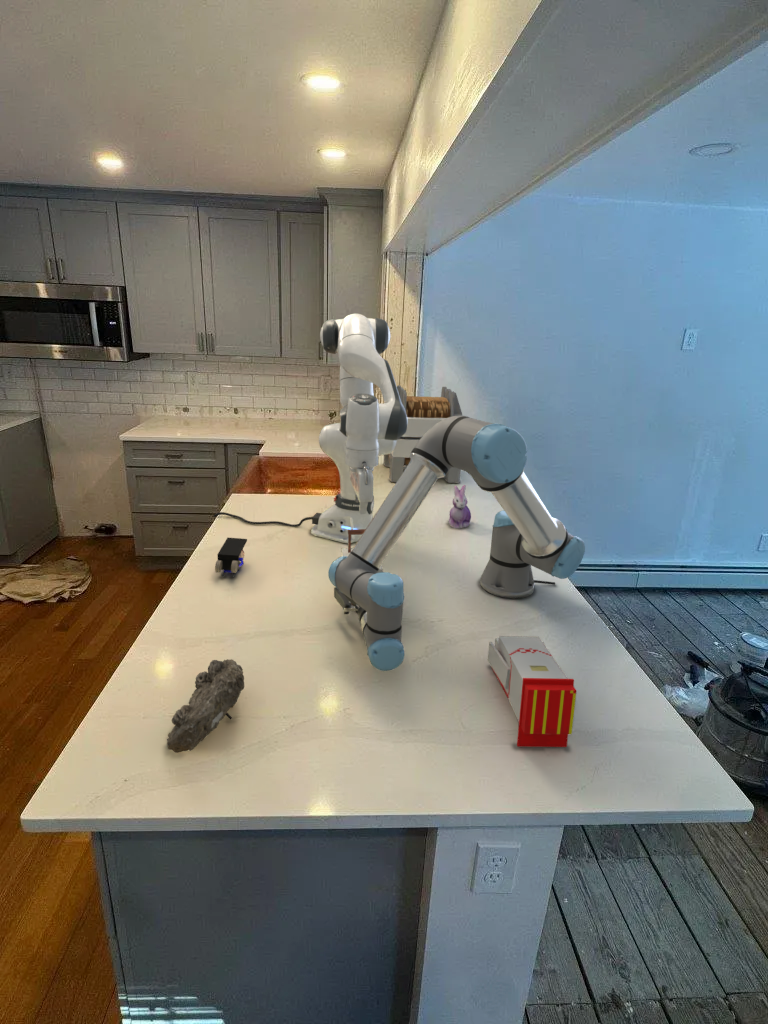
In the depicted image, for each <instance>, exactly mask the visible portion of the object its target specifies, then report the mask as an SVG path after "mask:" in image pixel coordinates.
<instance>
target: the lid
mask: <svg viewBox="0 0 768 1024" xmlns="http://www.w3.org/2000/svg"><path fill="white" fill-rule="evenodd" d="M365 530H366V529H351V530H348V543H347V547H346V548H345V547H344V548H343V547H342V548H340V553H342V556H347V557H348V556H349V554H350V553H351V551H352V549H353V548H354V547H352V543H351V535H362V534H363V533H364V531H365ZM377 572H384V569H383V566H382V565H381V566H380V568H379V570H378V571H377Z"/></svg>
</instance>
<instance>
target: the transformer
mask: <svg viewBox="0 0 768 1024" xmlns="http://www.w3.org/2000/svg"><path fill="white" fill-rule="evenodd" d="M396 386H397V390H398V393H399V396H400V399H401V402H402V404H403V406H404V408H405V411H406V414H407V419H408V425H407V431H406V433H405V434H404V435H403V436H402V437H400V438H399V439H398V440H397V442H396V446H395V448H394V450H393V451H392V452H391V453H390V454H386V455H383V466H384V467H388V468H389V475H388V476H389V477H388V478H389V480H390V482H391V483H396V482H397V481H398V479H399V478H400V476H401V475H402V473H403V472H404V469H405V466H407V465H408V464H409V462H410V453H411V451H412V450H413V448H414V447H415V446H416V444H417V443H418V442H419V440H420V439H421V438H422V437H423V436H424V434H425V433H426V432H428V431H429V430H430V429H431V428H432V427H433V426H435V425H436V424H437V423H439V422H440V421H442V420H444V419H446V418H448V417H452V416H459V415H460V416H463V411H462V408H461V405H460V402H459V398H458V395H457V392H455V391H453V390H452V389H451V388H447V386H442V387H441V392H440V393H441V394H440V396H415V395H414V396H413V395H412V396H411V395H407V394H408V393H407V390H406V389H404V388H403V387H402V385H399V384H398V385H396ZM461 472H462V470H461V469H458V468H455V467H452V468H450V469H449V470H448V472H447V473H446V475H445V476H444V477H443V478H444V479H445V481H446V482H447V483H449V484H455V483H456V484H459V483H461Z"/></svg>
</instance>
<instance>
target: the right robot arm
mask: <svg viewBox="0 0 768 1024" xmlns="http://www.w3.org/2000/svg"><path fill="white" fill-rule="evenodd" d="M527 453H528V446H527V443H526V440H525V438H524V436H523V435H522V434H520V433H519V432H518V431H517V430H516V429H514V428H511V427H509V426H507V425H505V424H501V423H494V422H491V421H485V420H481V419H478V418H473V417H469V416H467V415H462V416H460V415H459V416H452V417H448V418H446V419H444V420H442V421H440V422H439V423H437V424H436V425H435V426H433V427H432V428H431V429H430V430H429V431H428V432H426V433H425V434H424V436H423V437H422V438H421V439H420V440H419V442H418V443H417V444H416V446H415V447H414V448H413V450H412V451H411V453H410V462H409V464H408V465H406V467H405V468H404V469H403V473H402V475H401V476H400V478H399V479H398V481H397V482H395V483H394V485H393V487H392V488H391V489H390V492H389V493H388V495H387V496H386V497H385V499H384V501H383V502H382V504H381V505H380V507H379V508H378V510H377V511H376V513H375V514H374V515H373V519H372V520H371V522H370V523H369V525H368V527H367V528H366V530H365V531H364V533H363V534H362V536H361V537H360V539H359V540H358V541H357V542H355V543H356V544H355V545H354V546H353V547H352V548H353V549H352V551H351V553H350V554H349V556H348V557H347V556H342V557H341V556H339V557H338V558H336V559H335V560H333V561H332V562H331V564H330V565H329V567H328V574H327V576H328V580H329V582H330V583H331V584H332V585H333V586H334V587H333V598H334V599H335V600H336V601H337V603H338V604H339V606H340V607H341V609H342V610H343V615H345V616H347V615H349V614H350V613H351V612H355V614H356V615H357V618H358V620H359V624H360V629H361V633H362V636H363V639H364V644H365V646H366V647H365V648H366V656H367V657H368V659H369V661H370V664H371V665H372V667H373V668H375V669H376V670H378V671H381V672H390V671H393V670H395V669H397V668H399V667H400V666H401V664H402V663H403V661H404V659H405V646H404V643H403V642H402V634H403V632H402V631H403V622H402V621H403V613H404V601H405V592H404V591H405V589H404V587H405V586H404V585H405V584H404V581H403V579H402V578H401V576H400V575H398V574H396V573H391V572H387V571H383V572H380V573H377V571H378V570H379V568H380V566H382V564H384V562H385V560H386V559H387V557H388V556H389V554H390V553H391V551H392V550H393V548H394V546H395V545H396V543H397V542H398V540H400V537H401V536H402V534H403V533H404V531H405V530H406V528H407V526H408V525H409V524H410V522H411V520H412V519H413V517H415V514H416V513H417V511H418V510H419V508H420V507H421V506H422V504H423V502H424V500H425V499H426V498H427V496H428V495H429V493H430V491H432V489H433V487H434V485H435V484H436V482H437V481H438V479H442V478H444V476H445V475H446V473H447V472H448V470H449V469H450V468H452V467H455V468H458V469H461V471H463V472H466V473H468V474H469V475H470V476H471V478H472V479H473V480H474V482H475V483H476V485H477V486H478V487H479V488H480V489H481V490H482V491H484V492H488V493H491V494H492V495H493V497H494V498H495V500H496V501H497V503H498V504H499V506H500V507H501V508H502V510H500V511H498V512H497V513H496V514H495V516H494V519H493V524H492V532H491V542H490V544H491V545H490V551H489V559H488V562H487V563H486V565H485V568H484V569H483V571H482V573H481V575H480V586H481V588H482V589H483V590H485V591H486V592H487V593H489V594H491V595H494V596H497V597H500V598H504V599H505V598H506V599H524V598H527V597H529V596H531V595H532V594H533V592H534V590H535V584H544V585H553V586H555V585H556V582H555V581H547V580H546V581H545V580H538V579H537V580H536V579H534V575H533V569H532V567H534V568H535V569H538V570H540V571H541V572H544V573H546V574H548V575H550V576H551V577H555V578H557V579H561V580H565V579H567V578H570V577H571V576H572V575H573V574H574V573H575V572H576V571H577V570H578V568H579V567H580V565H581V563H582V561H583V559H584V555H585V552H586V546H585V541H584V540H583V539H582V538H580V537H579V536H578V535H573V534H572V533H570V532H569V531H568V529H567V528H566V526H565V525H564V523H563V522H562V521H561V520H559V518H556V517H552V515H551V514H550V512H549V510H548V509H547V507H546V505H545V504H544V502H543V501H542V500H541V498H540V496H539V494H538V493H537V491H536V489H535V488H534V486H533V485H532V483H531V481H530V479H529V478H528V477H527V475H526V473H525V467H526V464H527V461H528V456H527V455H526V454H527ZM351 603H352V604H354V605H352V604H351Z"/></svg>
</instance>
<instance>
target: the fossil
mask: <svg viewBox="0 0 768 1024" xmlns="http://www.w3.org/2000/svg"><path fill="white" fill-rule="evenodd" d="M243 670H244V669H243V667H242V665H240V664H237V662H236V661H235V660H234V659H232V658H231V659H227V658H226V659H224V660H223V661H222V660H217V659H212V660H211V661H210V663H209V665H208V666H207V671H201V672H199V673H198V674H197V675H196V676H195V680H194V684H195V685H194V687H195V689H194V690H193V693H192V694H191V697H190V698H189V700H188V704H184V705H182V706H181V707H180V709H177V710H176V711H175V713H174V715H173V716H172V718H171V723H172V724H173V727H172V730H171V731H170V732H168V734H167V738H166V741H167V742H166V745H167V749H168V750H169V751H173V752H174V753H176V754H178V753H182V752H188V751H189V752H192V751H193V750H195V748H196V747H197V746H199V744H200V743H201V742H203V741H204V740H205V739H206V738H207V737H208V736H209V735H210V734H211V733H212V732H214V730H215V729H217V727H218V726H219V724H220V722H221V721H222V720H223V719H224V718H225V716H226V717H227V719H229V720H233V717H232V715H230V714H229V710H230V709H231V708H234V706H235V704H236V703H237V702H238V699H239V697H240V695H241V693H242V691H243V690H245V689H244V688H245V675H244V671H243Z"/></svg>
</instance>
